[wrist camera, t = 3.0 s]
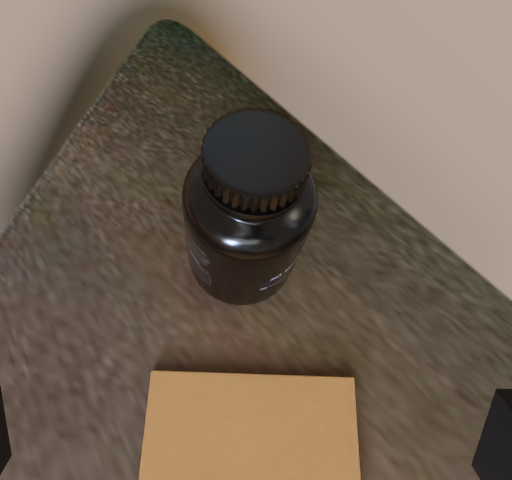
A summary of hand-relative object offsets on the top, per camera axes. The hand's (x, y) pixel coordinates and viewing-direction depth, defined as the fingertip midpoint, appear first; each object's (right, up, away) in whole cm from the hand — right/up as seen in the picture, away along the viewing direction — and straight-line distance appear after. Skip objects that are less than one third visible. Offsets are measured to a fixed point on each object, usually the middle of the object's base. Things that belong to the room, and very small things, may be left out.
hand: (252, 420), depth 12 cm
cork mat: (0, -8, +12) cm, 15 cm away
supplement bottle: (-1, +4, +18) cm, 18 cm away
